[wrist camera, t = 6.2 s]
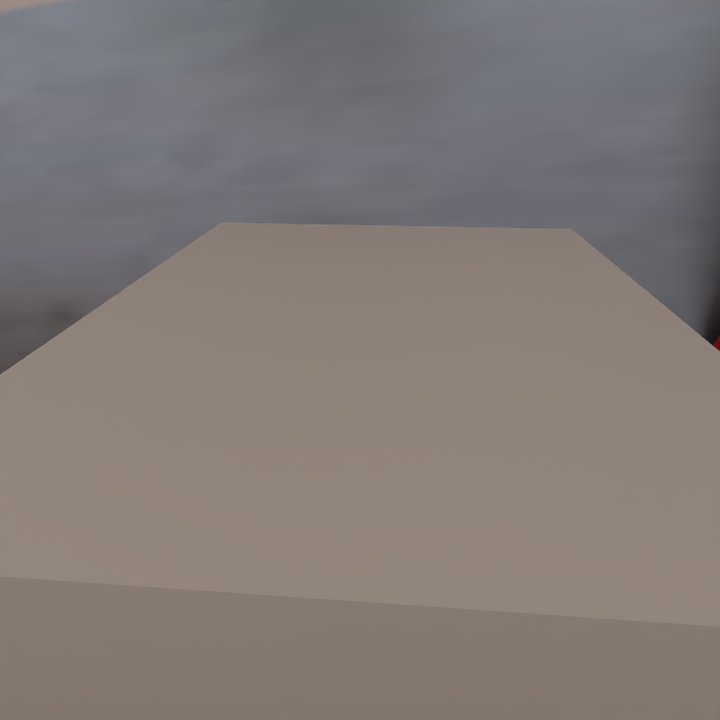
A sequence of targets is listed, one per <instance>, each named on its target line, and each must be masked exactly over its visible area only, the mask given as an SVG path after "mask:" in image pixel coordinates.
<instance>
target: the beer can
mask: <svg viewBox="0 0 720 720" xmlns="http://www.w3.org/2000/svg"><path fill="white" fill-rule="evenodd" d="M713 346H714V347H715V348H716V349H717V350H719V351H720V334H719V336H718V338H717V340H716V341H715V343H714V345H713Z"/></svg>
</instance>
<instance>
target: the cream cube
mask: <svg viewBox="0 0 720 720" xmlns="http://www.w3.org/2000/svg"><path fill="white" fill-rule="evenodd" d="M0 720H720V351H719V350H717V349H716V348H715V347H714V346H713V345H711V344H710V343H709V342H708V341H706V340H705V339H704V338H703V337H702V336H700V335H699V334H698V333H697V332H696V331H694V330H693V329H692V328H691V327H690V326H688V325H687V324H686V323H685V322H683V321H682V320H681V319H680V318H679V317H677V316H676V315H675V314H674V313H673V312H671V311H670V310H669V309H668V308H667V307H665V306H664V305H663V304H662V303H660V302H659V301H658V300H657V299H656V298H654V297H653V296H652V295H651V294H650V293H648V292H647V291H646V290H645V289H644V288H642V287H641V286H640V285H639V284H637V283H636V282H635V281H634V280H633V279H631V278H630V277H629V276H628V275H627V274H625V273H624V272H623V271H622V270H621V269H619V268H618V267H617V266H616V265H614V264H613V263H612V262H611V261H610V260H608V259H607V258H606V257H605V256H604V255H602V254H601V253H600V252H599V251H598V250H596V249H595V248H594V247H593V246H591V245H590V244H589V243H588V242H587V241H585V240H584V239H583V238H582V237H581V236H579V235H578V234H577V233H576V232H574V231H573V230H572V229H540V228H487V227H433V226H380V225H326V224H273V223H220V224H218V225H217V226H215V227H214V228H213V229H211V230H210V231H208V232H207V233H205V234H204V235H202V236H201V237H199V238H198V239H197V240H195V241H194V242H192V243H191V244H189V245H188V246H186V247H185V248H183V249H182V250H181V251H179V252H178V253H176V254H175V255H173V256H172V257H170V258H169V259H168V260H166V261H165V262H163V263H162V264H160V265H159V266H157V267H156V268H154V269H153V270H152V271H150V272H149V273H147V274H146V275H144V276H143V277H141V278H140V279H138V280H137V281H136V282H134V283H133V284H131V285H130V286H128V287H127V288H125V289H124V290H123V291H121V292H120V293H118V294H117V295H115V296H114V297H112V298H111V299H109V300H108V301H107V302H105V303H104V304H102V305H101V306H99V307H98V308H96V309H95V310H93V311H92V312H91V313H89V314H88V315H86V316H85V317H83V318H82V319H80V320H79V321H78V322H76V323H75V324H73V325H72V326H70V327H69V328H67V329H66V330H64V331H63V332H62V333H60V334H59V335H57V336H56V337H54V338H53V339H51V340H50V341H49V342H47V343H46V344H44V345H43V346H41V347H40V348H38V349H37V350H35V351H34V352H33V353H31V354H30V355H28V356H27V357H25V358H24V359H22V360H21V361H19V362H18V363H17V364H15V365H14V366H12V367H11V368H9V369H8V370H6V371H5V372H4V373H2V374H1V375H0Z"/></svg>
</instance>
